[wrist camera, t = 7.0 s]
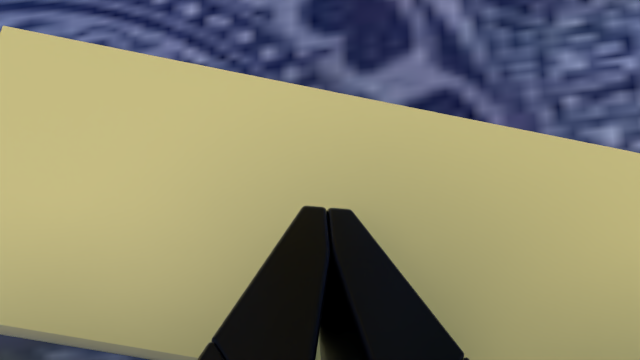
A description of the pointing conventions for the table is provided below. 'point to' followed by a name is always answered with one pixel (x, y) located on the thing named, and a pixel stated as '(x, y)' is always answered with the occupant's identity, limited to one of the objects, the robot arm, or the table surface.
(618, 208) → the lid
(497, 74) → the table surface
